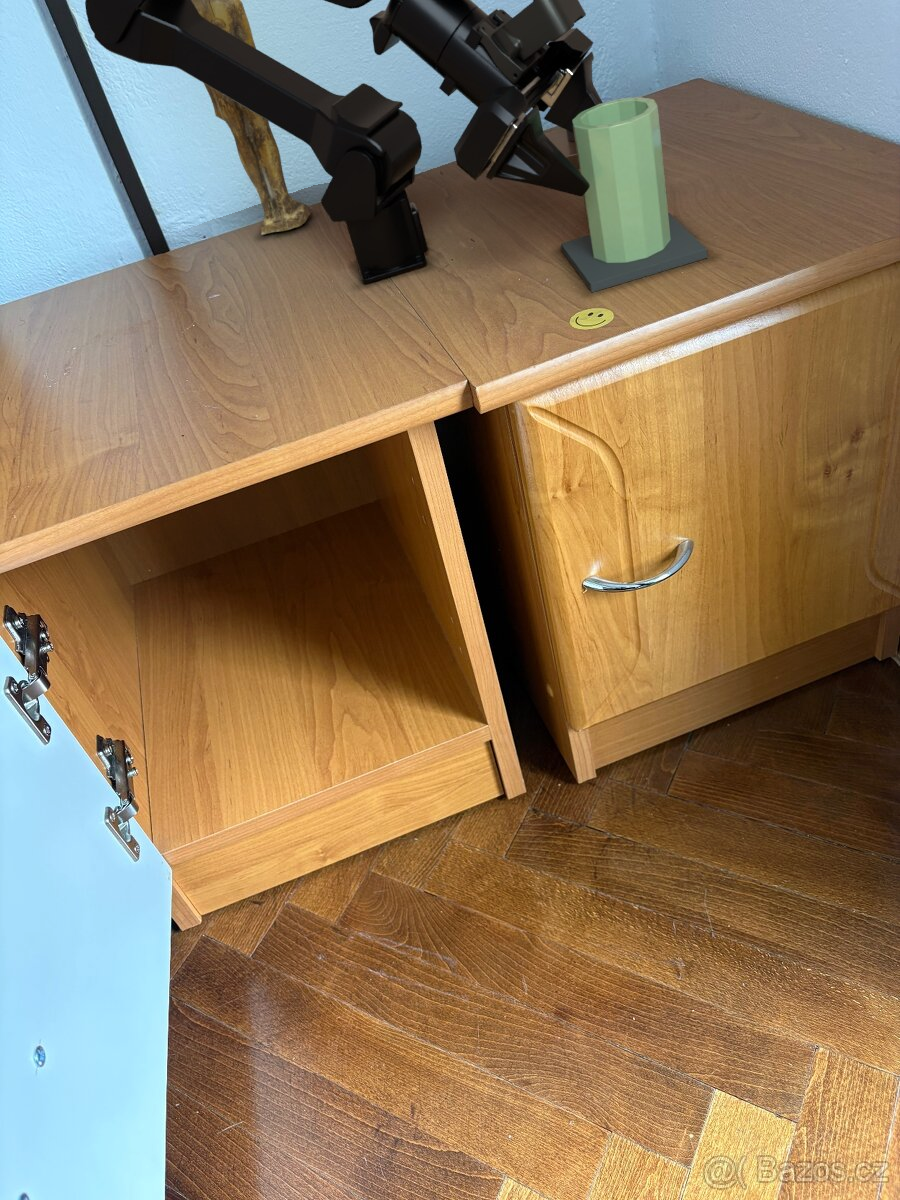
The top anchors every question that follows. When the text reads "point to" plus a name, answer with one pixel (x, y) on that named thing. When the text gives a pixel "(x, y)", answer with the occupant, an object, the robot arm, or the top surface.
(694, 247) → the mat
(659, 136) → the green faceted tube
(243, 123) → the sculpture
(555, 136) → the stand
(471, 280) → the top surface
